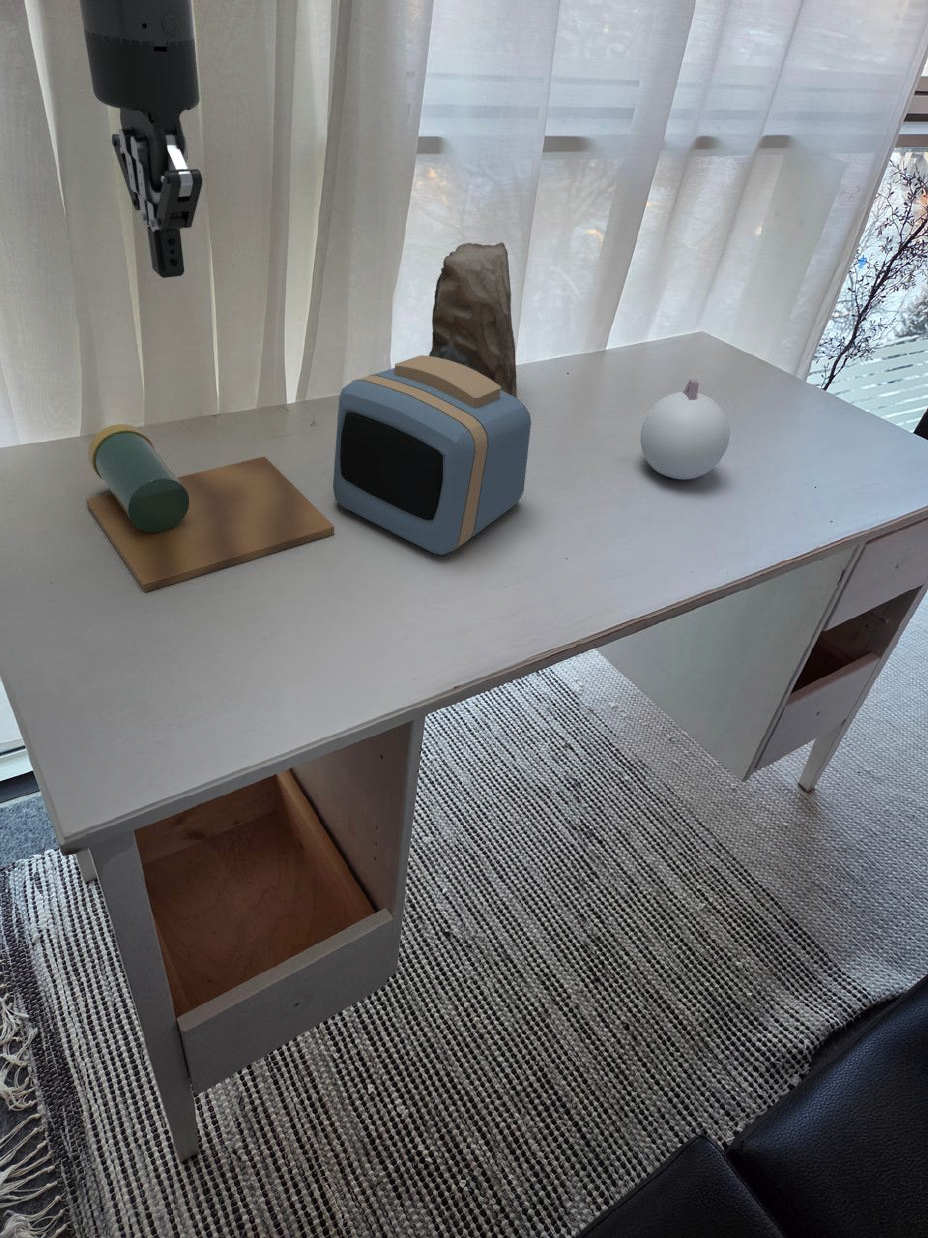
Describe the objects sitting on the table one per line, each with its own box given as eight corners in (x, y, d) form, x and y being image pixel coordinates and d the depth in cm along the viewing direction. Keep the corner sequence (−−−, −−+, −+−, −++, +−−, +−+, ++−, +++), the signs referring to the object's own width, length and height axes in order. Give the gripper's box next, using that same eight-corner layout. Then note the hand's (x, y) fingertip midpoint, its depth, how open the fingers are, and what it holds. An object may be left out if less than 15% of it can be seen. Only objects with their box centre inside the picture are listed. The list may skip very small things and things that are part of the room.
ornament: (616, 458, 107) (639, 369, 99) (678, 446, 111) (704, 359, 103) (667, 500, 100) (696, 408, 92) (730, 485, 104) (763, 396, 97)
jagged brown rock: (421, 426, 108) (434, 266, 95) (414, 382, 117) (424, 231, 104) (517, 430, 110) (542, 273, 97) (502, 387, 119) (524, 239, 106)
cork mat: (145, 592, 78) (143, 584, 77) (87, 507, 87) (85, 499, 86) (334, 534, 88) (334, 526, 87) (265, 463, 97) (264, 455, 96)
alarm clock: (324, 506, 92) (323, 368, 81) (415, 452, 102) (424, 325, 92) (444, 568, 85) (460, 427, 75) (527, 504, 96) (551, 373, 86)
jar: (126, 538, 81) (88, 481, 88) (190, 529, 85) (150, 475, 92) (125, 480, 78) (86, 425, 84) (192, 473, 81) (150, 421, 88)
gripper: (55, 10, 62) (97, 253, 73) (119, 41, 54) (155, 307, 66) (155, 14, 66) (181, 245, 77) (228, 44, 58) (244, 295, 69)
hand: (169, 273), depth 71 cm, fingers closed
